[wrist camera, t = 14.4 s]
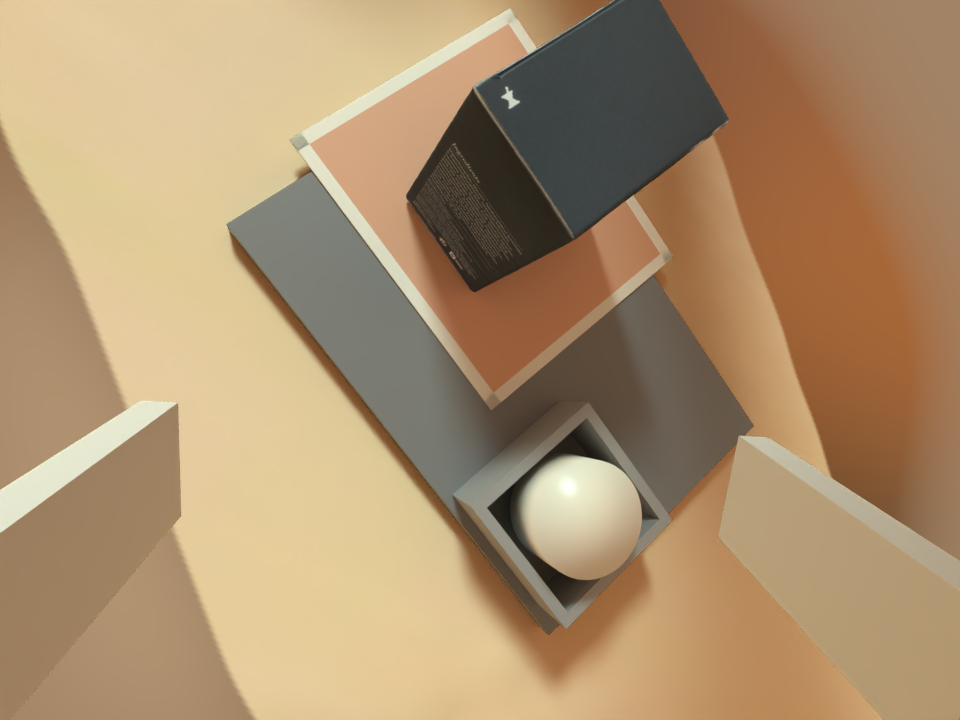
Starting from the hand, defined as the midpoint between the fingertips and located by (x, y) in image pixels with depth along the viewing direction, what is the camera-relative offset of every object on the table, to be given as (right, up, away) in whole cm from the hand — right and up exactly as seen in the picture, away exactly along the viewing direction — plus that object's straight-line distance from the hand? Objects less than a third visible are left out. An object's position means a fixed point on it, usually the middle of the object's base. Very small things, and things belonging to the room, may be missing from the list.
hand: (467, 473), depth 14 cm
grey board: (+2, +5, +16) cm, 17 cm away
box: (+1, +10, +15) cm, 18 cm away
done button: (+4, -4, +14) cm, 15 cm away
